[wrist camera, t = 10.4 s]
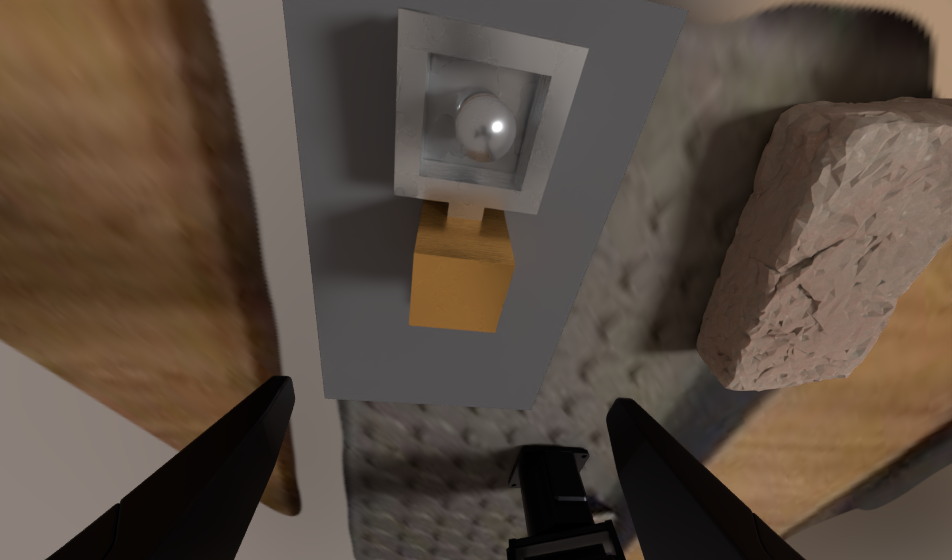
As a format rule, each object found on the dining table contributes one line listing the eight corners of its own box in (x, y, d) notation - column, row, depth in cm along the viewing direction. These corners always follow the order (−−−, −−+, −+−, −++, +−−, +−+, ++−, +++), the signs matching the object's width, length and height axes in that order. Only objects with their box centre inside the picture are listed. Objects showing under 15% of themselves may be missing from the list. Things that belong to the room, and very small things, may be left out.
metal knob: (524, 183, 18) (547, 226, 13) (406, 166, 17) (389, 204, 13) (558, 44, 15) (603, 40, 10) (414, 14, 14) (397, -5, 9)
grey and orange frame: (498, 303, 22) (507, 368, 18) (395, 292, 21) (381, 359, 17) (573, 42, 13) (621, 60, 9) (405, 7, 12) (382, 10, 9)
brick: (770, 106, 17) (864, 122, 13) (936, 91, 17) (1078, 103, 13) (683, 346, 26) (723, 397, 22) (792, 335, 26) (850, 385, 23)
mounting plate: (529, 404, 28) (531, 410, 28) (327, 391, 26) (324, 398, 26) (680, 12, 15) (688, 10, 14) (280, -83, 12) (273, -88, 12)
